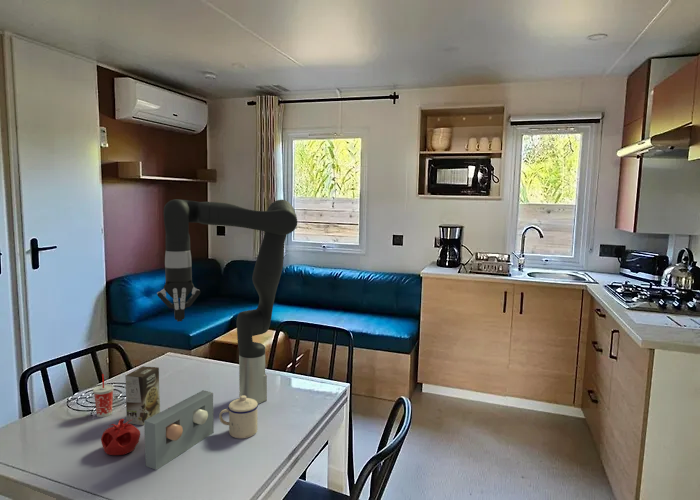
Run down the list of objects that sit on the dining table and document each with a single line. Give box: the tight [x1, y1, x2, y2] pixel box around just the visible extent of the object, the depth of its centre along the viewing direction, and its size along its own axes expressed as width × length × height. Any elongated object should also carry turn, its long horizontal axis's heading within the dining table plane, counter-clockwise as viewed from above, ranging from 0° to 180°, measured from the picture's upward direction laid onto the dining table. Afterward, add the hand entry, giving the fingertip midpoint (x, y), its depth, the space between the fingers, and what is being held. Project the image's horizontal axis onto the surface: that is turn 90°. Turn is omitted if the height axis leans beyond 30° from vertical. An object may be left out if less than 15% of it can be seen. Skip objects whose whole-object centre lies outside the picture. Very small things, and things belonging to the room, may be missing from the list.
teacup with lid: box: [218, 395, 259, 439], centre depth 141 cm, size 12×9×12 cm
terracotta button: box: [166, 423, 183, 441], centre depth 126 cm, size 7×4×4 cm, turn 65°
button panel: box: [143, 389, 215, 471], centre depth 131 cm, size 4×22×13 cm, turn 155°
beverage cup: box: [92, 373, 115, 418], centre depth 150 cm, size 6×6×14 cm
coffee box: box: [125, 365, 161, 426], centre depth 148 cm, size 9×6×16 cm
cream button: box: [193, 409, 208, 425], centre depth 135 cm, size 7×4×4 cm, turn 65°
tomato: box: [100, 418, 141, 456], centre depth 130 cm, size 10×10×9 cm
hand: (179, 320), depth 139 cm, fingers closed
